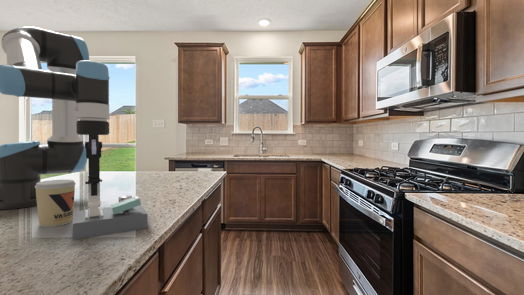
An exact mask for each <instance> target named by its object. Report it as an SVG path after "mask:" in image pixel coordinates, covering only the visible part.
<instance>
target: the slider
mask: <svg viewBox="0 0 524 295" xmlns="http://www.w3.org/2000/svg"><path fill="white" fill-rule="evenodd" d="M99 205H100V206H101V199H100V200H96V201H88V200H87V206H90V208H89V210H90V217H93V216H99V208H100V207H99Z"/></svg>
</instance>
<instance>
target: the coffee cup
mask: <svg viewBox="0 0 524 295" xmlns="http://www.w3.org/2000/svg"><path fill="white" fill-rule="evenodd" d="M35 188H36V199H37V205H36V206H37V208H36V210H37V215H38V216H37V217H38V225H39V227H40V228H41V227H42V228H53V227H60V226H64V224H65V225H67V224H70V223H73V219H74V205H75V191H76V189H75V188H76V182H75V180H74V179H53V180H43V181H41V182H38V183H36V186H35Z"/></svg>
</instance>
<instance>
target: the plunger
mask: <svg viewBox="0 0 524 295" xmlns="http://www.w3.org/2000/svg"><path fill="white" fill-rule="evenodd" d="M130 198H133V195H120V196H119V197H118V203H119V202H121V201H124V200H127V199H130Z"/></svg>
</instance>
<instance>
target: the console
mask: <svg viewBox="0 0 524 295" xmlns="http://www.w3.org/2000/svg"><path fill="white" fill-rule="evenodd" d="M148 214H149V213H148V212H147V211H146V209H145V208H144V207H143V206H142V204H141V205H139V206H136V207H134V208H131V209H128V210H125V211H122V212H120V213H117V214H113V211H112V208H111V206H109V207H99V216H93V217H90V209H89V208H88V209H85V210H75V211H74V213H73V220H72V240H73V241H75V240H79V239H86V238H92V237H98V236H106V235H111V234H118V233H124V232H125V233H126V232H129V231H136V230H137V231H138V230H141V229H142V230H143V229H148V225H149V224H148V221H149V220H148V219H149V218H148Z"/></svg>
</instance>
